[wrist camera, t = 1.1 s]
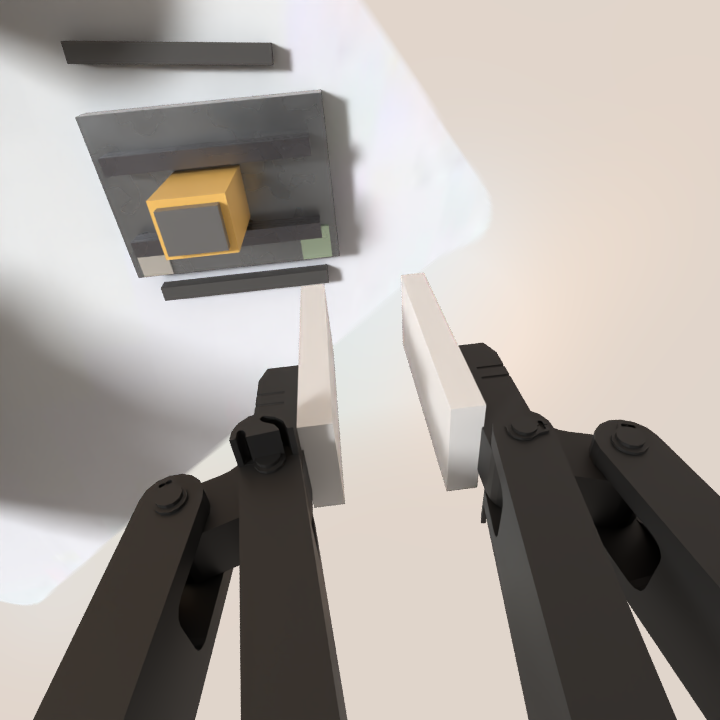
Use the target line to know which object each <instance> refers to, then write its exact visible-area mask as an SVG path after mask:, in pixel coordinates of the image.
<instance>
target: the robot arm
mask: <svg viewBox="0 0 720 720" xmlns="http://www.w3.org/2000/svg"><path fill="white" fill-rule="evenodd" d="M401 292H402V328H403V346H404V349H405V352H406V356H407V359H408V363H409V366H410V369H411V373H412V376H413V379H414V383H415V386H416V389H417V393H418V396H419V399H420V403H421V406H422V410H423V413H424V416H425V420H426V423H427V426H428V429H429V433H430V436H431V439H432V443H433V446H434V449H435V453H436V456H437V460H438V463H439V467H440V470H441V473H442V477H443V480H444V483H445V487H446V490H447V491H452V490H460V489H468V488H475V487H477V483H478V474H479V475H480V478H481V480H482V483H483V486H484V488H485V490H484V497H483V505H482V513H481V523H486V518H487V523H488V528H489V532H490V538H491V542H492V547H493V552H494V556H495V561H496V566H497V571H498V576H499V580H500V585H501V590H502V595H503V599H504V604H505V609H506V614H507V619H508V623H509V628H510V633H511V638H512V643H513V647H514V652H515V657H516V662H517V666H518V671H519V676H520V681H521V685H522V690H523V695H524V700H525V704H526V709H527V714H528V719H529V720H677V719H676V717H675V714H674V712H673V709H672V707H671V705H670V703H669V700H668V698H667V695H666V693H665V691H664V688H663V686H662V683H661V681H660V679H659V676H658V674H657V672H656V669H655V667H654V664H653V662H652V660H651V657H650V655H649V653H648V650H647V648H646V645H645V643H644V641H643V638H642V636H641V633H640V631H639V629H638V626H637V624H636V622H635V619H634V617H633V615H632V612H631V610H630V607H629V605H630V606H631V608H632V609H633V611H634V612H635V614H636V615H637V617H638V618H639V619H640V621H641V623H642V624H643V625H644V627H645V628H646V630H647V631H648V633H649V634H650V636H651V637H652V639H653V640H654V642H655V643H656V645H657V646H658V648H659V649H660V651H661V652H662V654H663V655H664V657H665V658H666V660H667V661H668V663H669V664H670V665H671V667H672V669H673V670H674V672H675V673H676V674H677V676H678V677H679V679H680V680H681V682H682V683H683V685H684V686H685V688H686V689H687V691H688V692H689V694H690V695H691V697H692V698H693V700H694V701H695V703H696V704H697V706H698V707H699V708H700V710H701V712H702V713H703V715H704V716H705V718H706V719H707V720H720V496H719V495H718V494H717V493H716V492H715V491H714V490H713V489H712V488H711V487H710V486H709V485H708V484H707V483H705V481H704V480H702V479H701V478H700V477H699V476H698V475H697V474H696V473H695V472H694V471H693V470H692V469H691V468H690V467H689V466H688V465H687V464H686V463H685V462H684V461H683V460H682V459H681V458H680V457H679V456H678V455H677V454H676V453H675V452H674V451H673V450H672V449H671V448H670V447H669V446H668V445H667V444H666V443H665V442H664V441H662V440H661V439H660V438H659V437H658V436H657V435H656V434H655V433H653V432H652V431H651V430H649V429H648V428H646V427H644V426H642V425H639V424H637V423H635V422H630V421H625V420H609V421H606V422H604V423H602V424H600V425H599V426H598V427H597V428H596V430H595V432H594V435H591V434H583V433H575V432H567V431H562V430H558V429H555V428H553V426H552V425H551V423H550V422H549V421H548V420H547V419H545V418H544V417H543V416H541V415H540V414H537V413H534V412H532V411H530V409H529V408H528V406H527V404H526V403H525V401H524V399H523V398H522V396H521V394H520V392H519V391H518V389H517V387H516V385H515V383H514V382H513V380H512V378H511V377H510V376H509V373H508V371H507V370H506V368H505V366H503V363H502V361H501V359H500V358H499V356H498V354H497V352H495V351H494V350H492V349H491V348H490V347H488V346H487V345H486V344H484V343H476V344H468V345H459V346H458V344H457V342H456V340H455V338H454V336H453V334H452V331H451V329H450V327H449V325H448V323H447V321H446V319H445V316H444V314H443V312H442V310H441V308H440V306H439V304H438V302H437V299H436V297H435V295H434V293H433V291H432V289H431V287H430V285H429V282H428V280H427V278H426V276H425V274H424V273H416V274H408V275H401ZM229 441H230V444H231V447H232V450H233V452H234V455H235V458H236V461H237V464H238V466H236V467H235V468H234V469H232V470H231V471H229V472H227V473H225V474H223V475H221V476H218V477H216V478H213V479H211V480H208V481H205V482H203V483H201V482H200V480H198V479H197V478H195V477H194V476H192V475H186V474H178V475H173V476H169V477H166V478H164V479H162V480H160V481H158V482H156V483H155V484H154V485H153V486H151V487H150V488H149V489H148V490H147V491H146V492H145V493H144V495H143V496H142V498H141V499H140V500H139V502H138V505H137V507H136V509H135V511H134V513H133V515H132V517H131V519H130V521H129V523H128V525H127V527H126V529H125V532H124V534H123V535H122V537H121V540H120V542H119V544H118V546H117V548H116V550H115V552H114V554H113V556H112V558H111V560H110V562H109V564H108V567H107V569H106V570H105V573H104V575H103V577H102V579H101V581H100V583H99V585H98V587H97V589H96V591H95V593H94V595H93V597H92V599H91V601H90V604H89V606H88V608H87V610H86V612H85V614H84V616H83V618H82V620H81V622H80V624H79V626H78V628H77V630H76V632H75V635H74V636H73V638H72V641H71V643H70V645H69V647H68V649H67V651H66V653H65V655H64V657H63V660H62V661H61V663H60V665H59V667H58V669H57V671H56V674H55V676H54V678H53V680H52V682H51V684H50V686H49V688H48V690H47V692H46V694H45V696H44V698H43V700H42V702H41V705H40V707H39V709H38V711H37V713H36V715H35V717H34V719H33V720H195V717H196V713H197V709H198V706H199V702H200V698H201V694H202V690H203V686H204V682H205V678H206V674H207V670H208V666H209V662H210V658H211V654H212V650H213V646H214V642H215V638H216V634H217V631H218V626H219V623H220V619H221V614H222V611H223V607H224V603H225V599H226V595H227V591H228V587H229V583H230V579H231V575H232V571H233V568H234V567H236V566H239V565H240V663H241V665H240V667H241V668H240V669H241V720H347V715H346V709H345V703H344V697H343V690H342V685H341V679H340V672H339V666H338V660H337V655H336V648H335V642H334V636H333V630H332V624H331V618H330V612H329V605H328V599H327V593H326V588H325V582H324V576H323V569H322V563H321V557H320V551H319V545H318V539H317V533H316V527H315V522H314V518H313V507H312V505H313V504H314V507H315V508H316V507H324V506H331V505H339V504H345V498H344V486H343V472H342V460H341V446H340V432H339V420H338V406H337V393H336V379H335V367H334V353H333V345H332V338H331V331H330V323H329V316H328V309H327V301H326V294H325V287H324V284H318V285H309V286H301V301H300V334H299V365H297V366H289V367H280V368H272V369H267V371H266V372H265V373H264V375H263V376H262V378H261V379H260V380H259V384H258V391H257V398H256V408H255V412H254V415H252V416H249V417H247V418H246V419H244V420H243V421H241V422H240V423H238V425H237V426H236V427H235V428H234V429H233V431H232V433H231V436H230V440H229ZM627 602H628V603H629V605H628V603H627Z"/></svg>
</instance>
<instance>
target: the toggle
mask: <svg viewBox="0 0 720 720" xmlns="http://www.w3.org/2000/svg"><path fill="white" fill-rule="evenodd" d="M146 203H147V206H148V209H149V212H150V215H151V218H152V220H153V223H154V226H155V229H156V232H157V235H158V238H159V240H160V243H161V246H162V249H163V252H164V255H165V258H166V260H173V259H183V258H192V257H201V256H210V255H219V254H228V253H237V252H240V249H241V246H242V242H243V239H244V236H245V233H246V229H247V226H248V223H249V220H250V217H251V216H250V211H249V207H248V202H247V198H246V193H245V189H244V184H243V180H242V175H241V170H240V166H239V165H232V166H223V167H213V168H204V169H194V170H184V171H175V172H173V173H172V174H171V175H170V176H169V177H168V178H167V179H166V181H165V182H164V183H163V184H162V185H161V186H160V187H159V188H158V189H157V190H156V191H155V192H154V193H153V194H152V195H151V196H150V198H149V199H148V200H147V201H146Z"/></svg>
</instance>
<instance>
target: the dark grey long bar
mask: <svg viewBox="0 0 720 720" xmlns="http://www.w3.org/2000/svg"><path fill="white" fill-rule="evenodd" d="M320 283H329V280H328V271H327V264H325V265H316V266H307V267H298V268H289V269H280V270H271V271H262V272H253V273H244V274H235V275H226V276H217V277H207V278H198V279H189V280H180V281H171V282H164V284H163V286H162V287H161V290H162V293H163V296H164V298H165V301H167V300H176V299H185V298H194V297H203V296H212V295H221V294H230V293H239V292H248V291H257V290H266V289H275V288H284V287H293V286H302V285H311V284H320Z"/></svg>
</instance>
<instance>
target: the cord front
mask: <svg viewBox="0 0 720 720" xmlns="http://www.w3.org/2000/svg"><path fill="white" fill-rule="evenodd" d="M61 44H62V47H63V50H64V54H65V57H66V60H67V63H68V64H199V65H273V53H272V43H236V42H122V41H61Z"/></svg>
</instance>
